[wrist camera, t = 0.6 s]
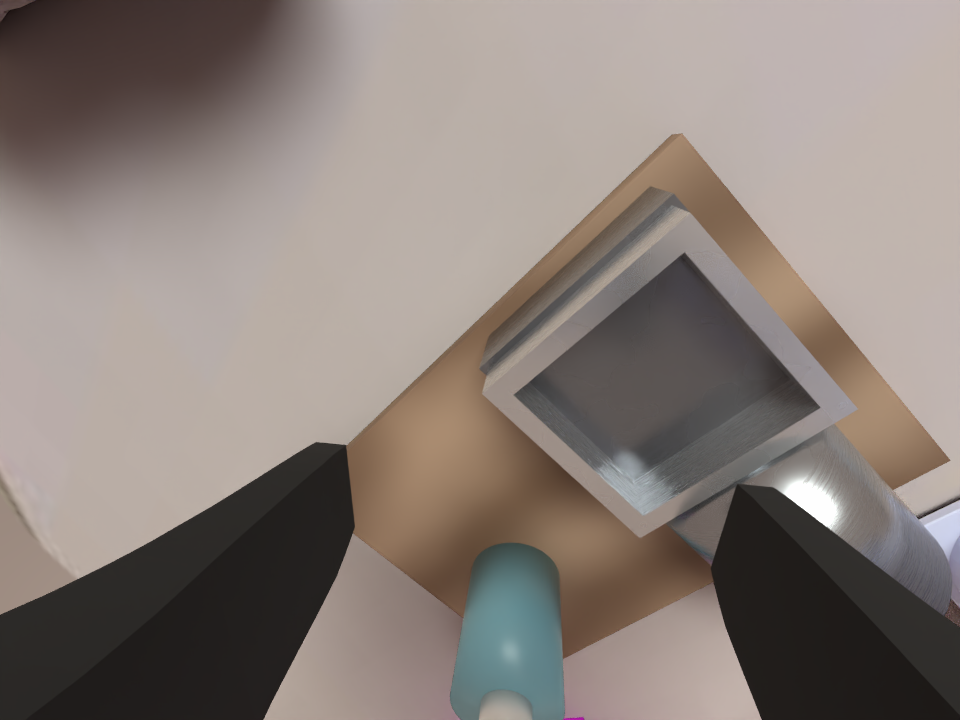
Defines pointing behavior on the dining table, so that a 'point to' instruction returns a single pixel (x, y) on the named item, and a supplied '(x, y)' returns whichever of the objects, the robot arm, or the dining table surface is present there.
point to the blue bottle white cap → (510, 638)
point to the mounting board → (551, 489)
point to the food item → (11, 6)
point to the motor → (691, 396)
